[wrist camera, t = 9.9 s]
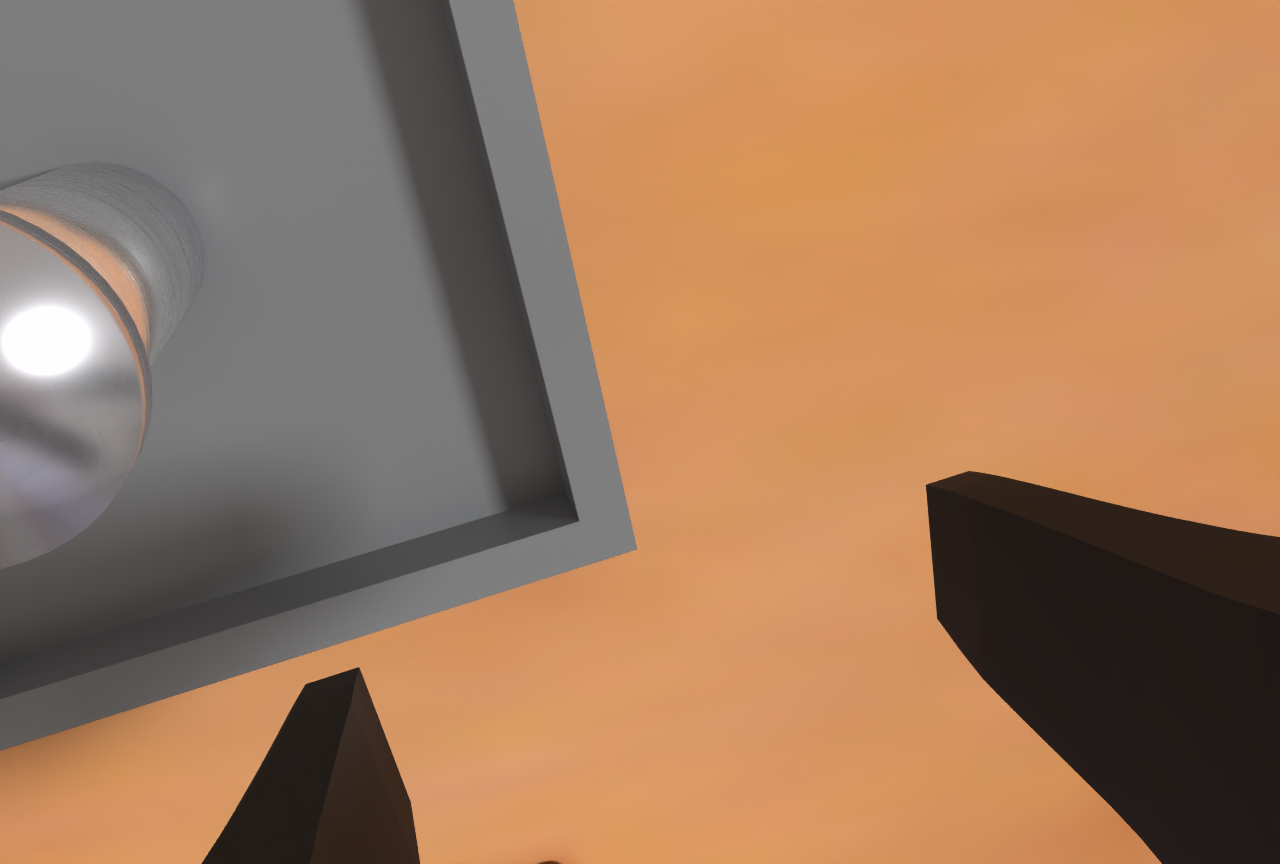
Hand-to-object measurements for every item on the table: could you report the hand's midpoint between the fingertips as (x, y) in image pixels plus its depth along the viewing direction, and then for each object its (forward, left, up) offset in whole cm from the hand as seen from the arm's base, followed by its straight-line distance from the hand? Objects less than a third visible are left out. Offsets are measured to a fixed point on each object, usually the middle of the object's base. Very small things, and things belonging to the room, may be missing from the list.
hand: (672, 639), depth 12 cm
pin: (+5, +7, -9) cm, 12 cm away
